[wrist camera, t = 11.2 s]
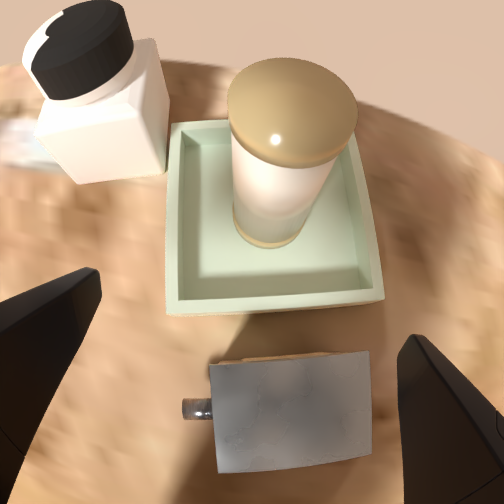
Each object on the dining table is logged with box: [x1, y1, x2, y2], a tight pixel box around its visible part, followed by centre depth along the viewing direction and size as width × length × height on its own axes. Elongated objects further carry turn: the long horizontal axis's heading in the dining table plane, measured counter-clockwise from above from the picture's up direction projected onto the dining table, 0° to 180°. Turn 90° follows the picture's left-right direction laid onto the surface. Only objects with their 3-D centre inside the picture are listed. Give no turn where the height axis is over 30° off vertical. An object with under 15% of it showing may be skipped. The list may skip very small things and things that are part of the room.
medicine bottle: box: [22, 0, 170, 184], centre depth 17 cm, size 7×7×12 cm
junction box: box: [182, 350, 372, 473], centre depth 16 cm, size 5×9×5 cm, turn 94°
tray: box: [165, 119, 385, 317], centre depth 20 cm, size 12×12×2 cm
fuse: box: [227, 58, 358, 249], centre depth 16 cm, size 5×5×11 cm
